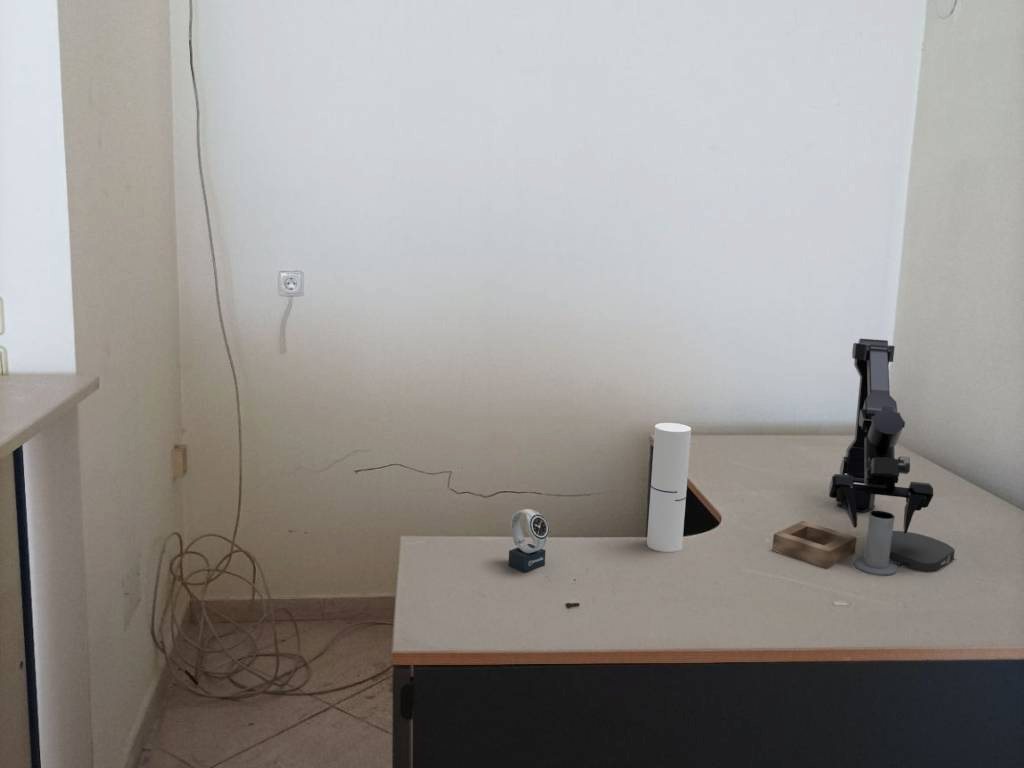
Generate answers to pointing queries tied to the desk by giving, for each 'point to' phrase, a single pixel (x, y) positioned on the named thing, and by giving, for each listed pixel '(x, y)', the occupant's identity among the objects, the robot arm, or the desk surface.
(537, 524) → the watch
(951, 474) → the desk surface
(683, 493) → the cylindrical container
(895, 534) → the media streaming box
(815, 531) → the planter holder
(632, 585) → the desk surface
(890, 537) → the planter
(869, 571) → the mat
